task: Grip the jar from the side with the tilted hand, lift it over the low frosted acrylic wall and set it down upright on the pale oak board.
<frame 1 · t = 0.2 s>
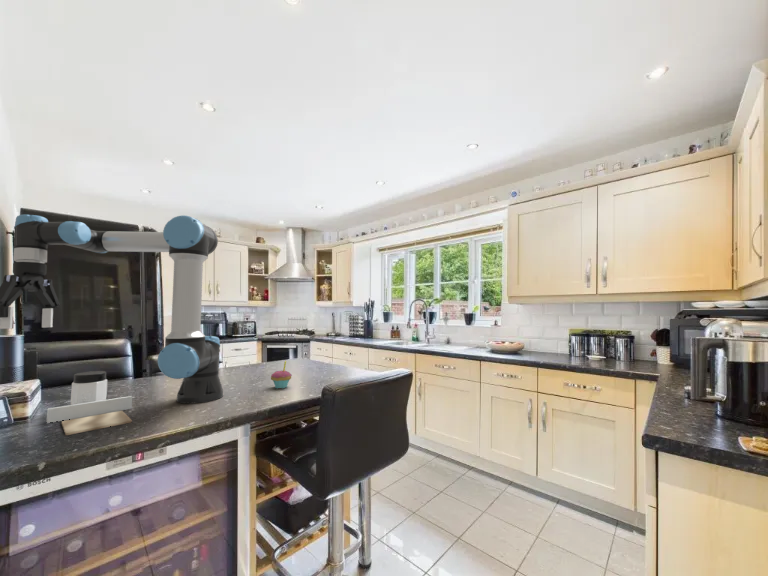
hand: (27, 328, 106), 27 cm above the countertop, tool pointing down, fingers open, 13 cm apart
jar: (88, 410, 110), on the countertop
cupcake: (280, 387, 142), on the countertop
acrylic wall: (91, 415, 104), on the countertop
oak board: (96, 422, 97), on the countertop
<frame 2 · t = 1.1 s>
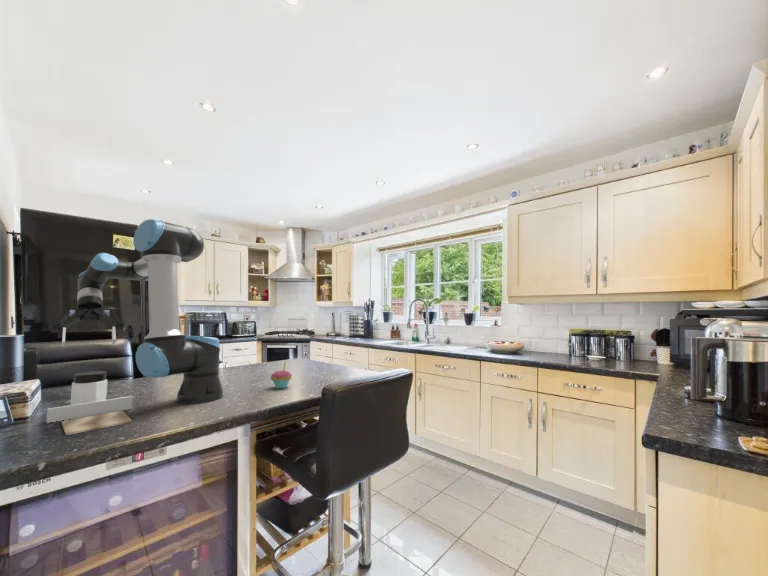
hand: (89, 343, 119), 21 cm above the countertop, tool tilted 45°, fingers open, 13 cm apart
nothing on the countertop moved.
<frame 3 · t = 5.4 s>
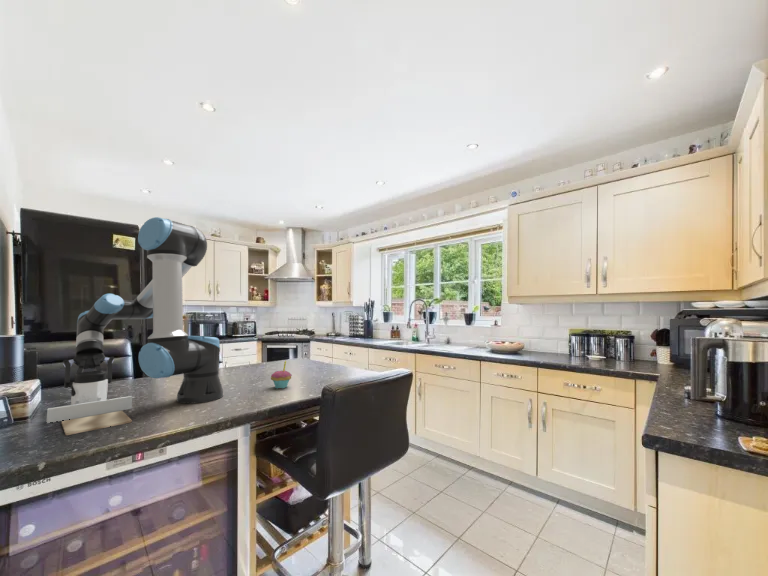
hand: (88, 401, 107), 3 cm above the countertop, tool tilted 45°, fingers closed on jar, 4 cm apart
jar: (88, 410, 110), on the countertop, touching gripper
everything else where it was.
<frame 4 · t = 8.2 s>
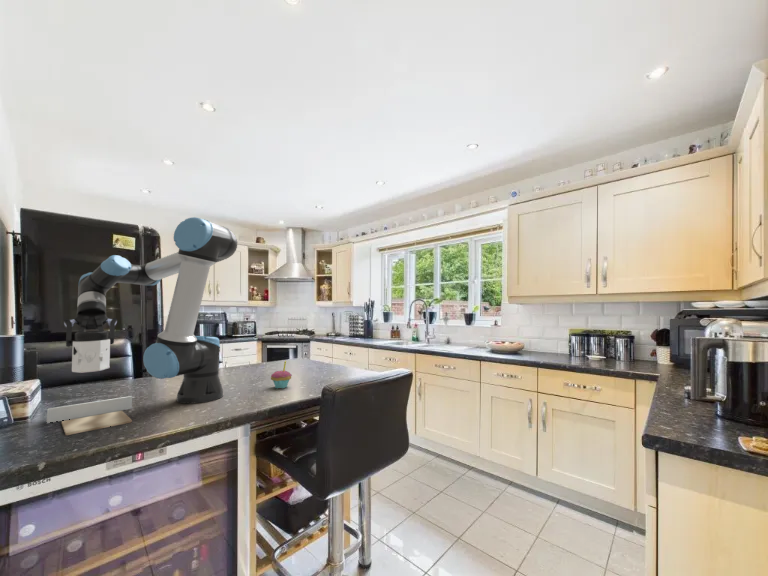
hand: (90, 360, 102), 17 cm above the countertop, tool tilted 45°, fingers closed on jar, 4 cm apart
jar: (91, 370, 105), point 14 cm above the countertop, touching gripper
everything else where it was.
when the fingers open (4 cm above the countertop, at t = 10.9 s): jar stays where it is, resting on oak board.
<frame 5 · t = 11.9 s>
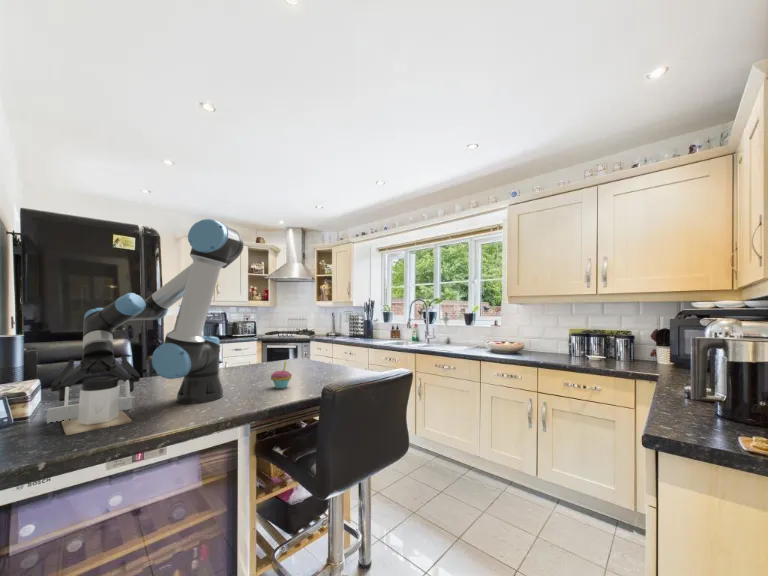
hand: (98, 404, 95), 6 cm above the countertop, tool tilted 45°, fingers open, 13 cm apart
jar: (98, 421, 97), resting on oak board
everything else where it was.
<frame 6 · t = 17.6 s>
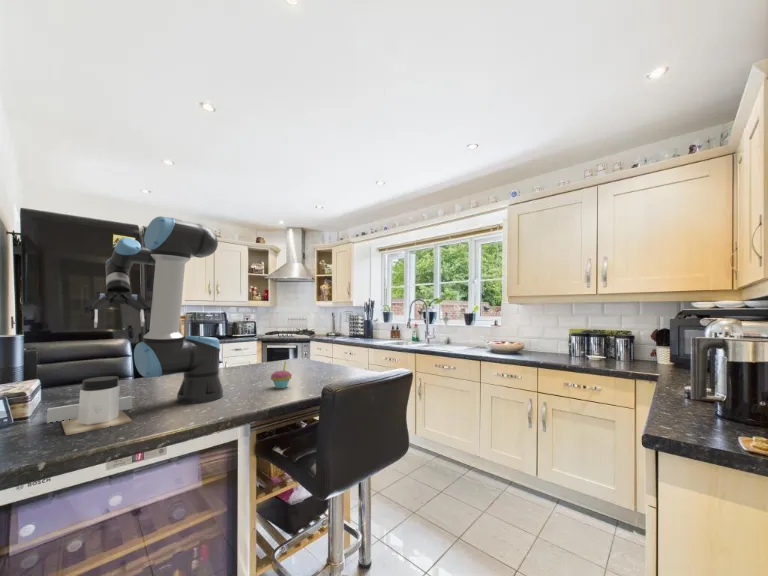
hand: (120, 324, 122), 28 cm above the countertop, tool tilted 45°, fingers open, 13 cm apart
nothing on the countertop moved.
at the end: jar inside the target area on the oak board (0.4 cm from its centre), point 0.4 cm above the oak board's base; jar tilted 0°; the gripper is holding nothing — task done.
